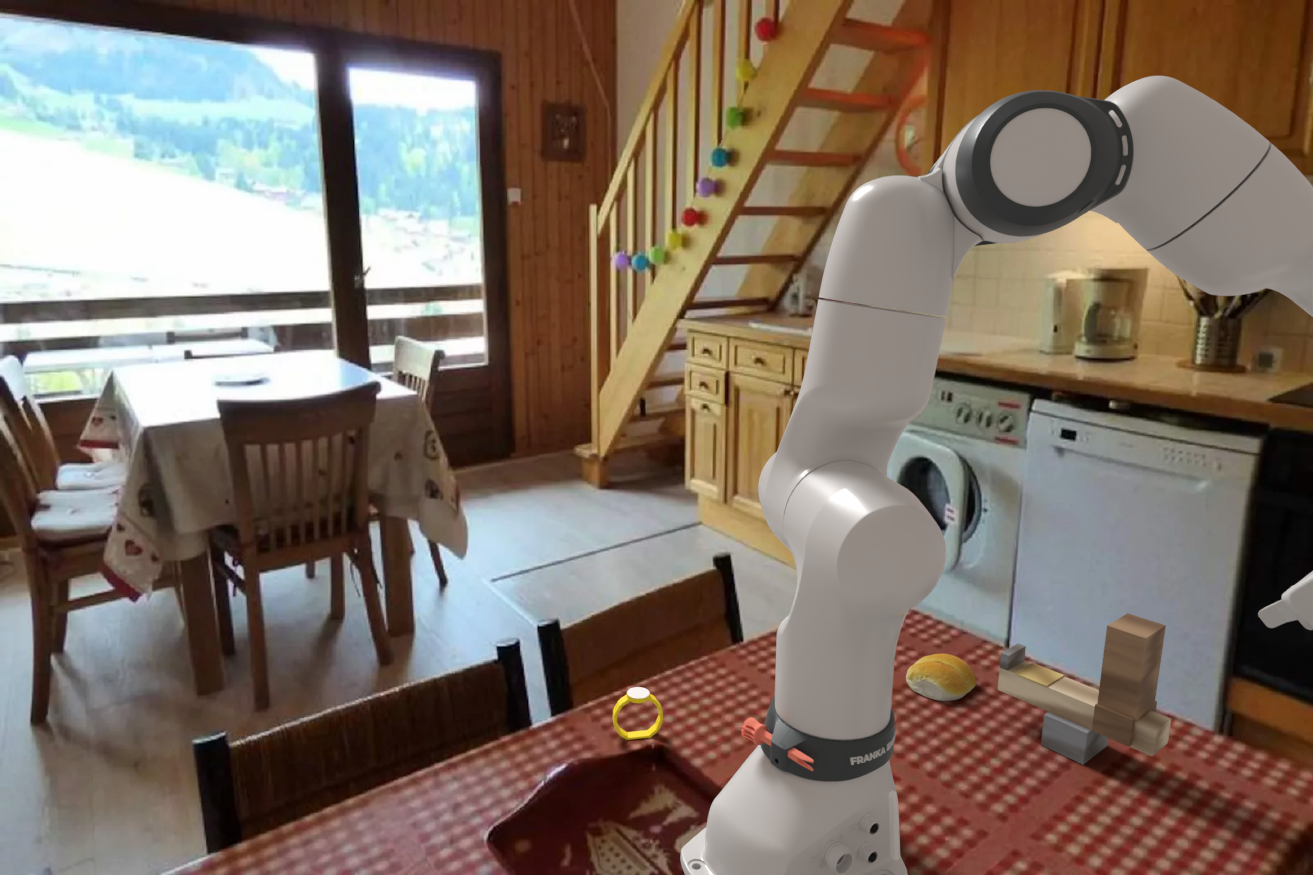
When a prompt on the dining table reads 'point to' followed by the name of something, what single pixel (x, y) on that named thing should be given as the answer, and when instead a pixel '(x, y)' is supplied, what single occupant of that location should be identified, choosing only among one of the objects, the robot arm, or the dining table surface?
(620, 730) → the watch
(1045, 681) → the seesaw
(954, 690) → the bread roll
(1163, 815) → the dining table surface
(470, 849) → the dining table surface
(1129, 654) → the plate
